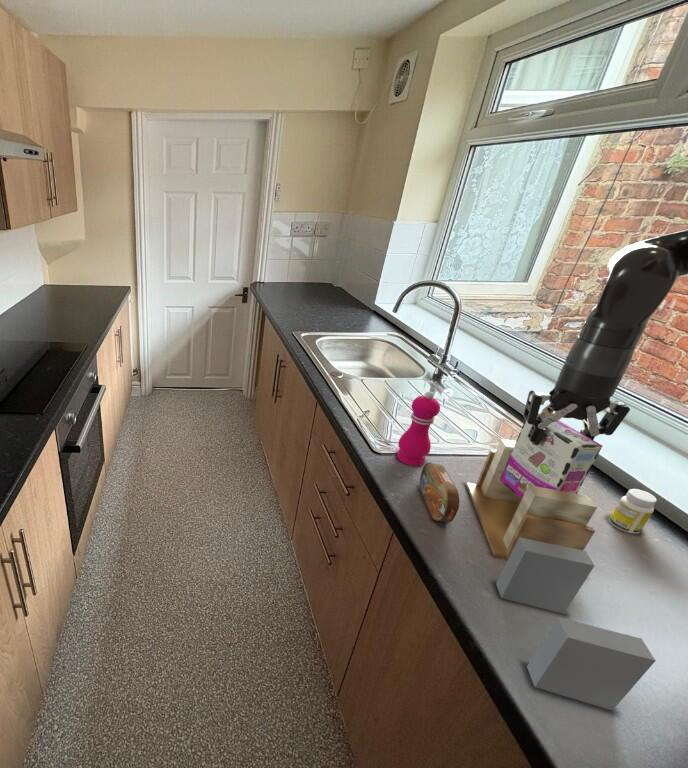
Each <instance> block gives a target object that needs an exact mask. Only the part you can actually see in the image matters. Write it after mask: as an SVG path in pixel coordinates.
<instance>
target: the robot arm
mask: <svg viewBox="0 0 688 768" xmlns="http://www.w3.org/2000/svg"><path fill="white" fill-rule="evenodd" d="M606 271H607V273H606V274H607V276H608V278H607V281H606V284H605V286H604V288H603V290H602V293H601V295H600V297H599V299H598V302H597V304H596V305H595V306H594V307H593V308H591V310H590V311H589V313H588V314H587V316H586V319H585V321H584V323H583V325H582V327H581V329H580V331H579V334H578V336H577V338H576V339H575V342H574V343H573V344H572V346H571V348H570V349H569V352H568V354H566V357H565V360H564V363H563V365H562V368H561V369H560V371H559V374H558V376H557V378H556V381H555V385H554V387H553V389H552V390H550V391H549V392H538V391H537V390H534V389H532V390H529V391H528V395H527V399H526V403H525V405H524V410H523V413H522V417H523V418H524V421H525V420H526V421H527V422H528V424H532V427H531V429H530V431H529V433H528V438H529V439H530V441H531V443H532V444H533V445H539V443H540V441H541V439H542V436H543V434H544V432H545V429H544V428H546V427H547V426H548V425H550V424H551V423H552V422H557V421H558V420H559V421H561V419H574V420H576V421H577V420H578V421H582V426H583V428H584V429H580V430H579V432H580V433H581V434H583V435H585V436H587V437H588V438H590V439H592V440H594V441H595V438H596V437H598V436H600V435H606V436H612V435H613V434H614V433H615V431H616V430H617V429H618V428H619V426H620V424H621V423H622V422H623V421H624V419H625V418H626V417H627V415H628V414H629V412H630V411H631V408H630V406H628V405H627V404H626V403H625V402H623V401H621V400H620V399H619V400H618V399H617V400H615V401H613V400H611V397H613V396H614V395H615V393H616V391H617V389H618V387H619V385H620V383H621V381H622V379H623V377H624V375H625V373H626V372H627V370H628V368H629V366H630V364H631V361H632V359H633V356H634V353H635V349H636V347H637V346H638V344H639V342H640V340H641V338H642V336H643V334H644V332H645V330H646V328H647V325H648V323H649V321H650V319H651V318H652V317H653V315H654V314H655V312H656V311H657V310H658V309H659V307H660V306H661V304H662V303H663V302H664V301H665V299H666V297H667V296H668V294H669V293H670V292H671V290H672V288H673V286H674V285H675V283H676V281H677V279H678V277H681V276H687V275H688V229H686V230H680V231H677V232H673V233H669V234H664V235H659V236H656V237H652V238H649V239H645V240H642V241H639V242H635V243H633V244H630V245H627V246H625V247H624V248H622V249H620V250H619V251H617V252H615V254H614V255H613V256H612V257H611V258H610V259H609V262H608V263H607V267H606ZM547 401H549V404H547V406H545V407H544V408H543V409H542V410H541V412H540V408H541V406H544V404H545V402H547ZM604 410H606V412H605V414H604V415H603V416H602V418H601V419H600V420H599V419H598V416H597V415H598V414H599V413H601V412H602V411H604ZM539 412H540V413H539Z"/></svg>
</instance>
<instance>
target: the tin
mask: <svg viewBox="0 0 688 768" xmlns="http://www.w3.org/2000/svg"><path fill="white" fill-rule="evenodd" d="M419 490H420V492H421V494H422V497H423V499H424V502H425V504H426V506H427V509H428V511H429V514H430V516H431V518H432V519H433V520H435V521H437V522H445V523H450V522H453V521H454V519H455V518H456V516H457V513H458V512H459V509H460V496H459V490H458V489H457V487H456V485H455V483H454V482H453V479H452V478H451V476H450V475H449V472H448V471H447V469H446V468H445V466H443V465H442V464H439V463H433V462H427V463H424V466H423V467H422V469H421V472H420V477H419Z"/></svg>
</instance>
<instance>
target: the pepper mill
mask: <svg viewBox="0 0 688 768" xmlns="http://www.w3.org/2000/svg"><path fill="white" fill-rule="evenodd" d="M411 410H412V411H411V415H410V419H411V424H410V426H409V427H408V429H406V431H404V433H403V434H402V435H401V436H400V438H399V439H398V443H397V444H398V451H397V455H396V457H397V459H398V460H399V461H400V462H402V463H403V464H404V465H405V464H406V465H408V466H412V467H420V466H423V465H425V461H426V456H427V455H428V454H430V452H431V447H432V446H431V444H432V443H431V439H430V434H429V429H430V426H431V425H433V424H434V422H435V417H436V416H437V415H439V413H440V411H441V404H440V402H439V401H438V400H437V399H436V398H434V393H433V392H432V391H426V392H425V394H424V395H420V396H416V398H414V399H413V400H412V403H411Z"/></svg>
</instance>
